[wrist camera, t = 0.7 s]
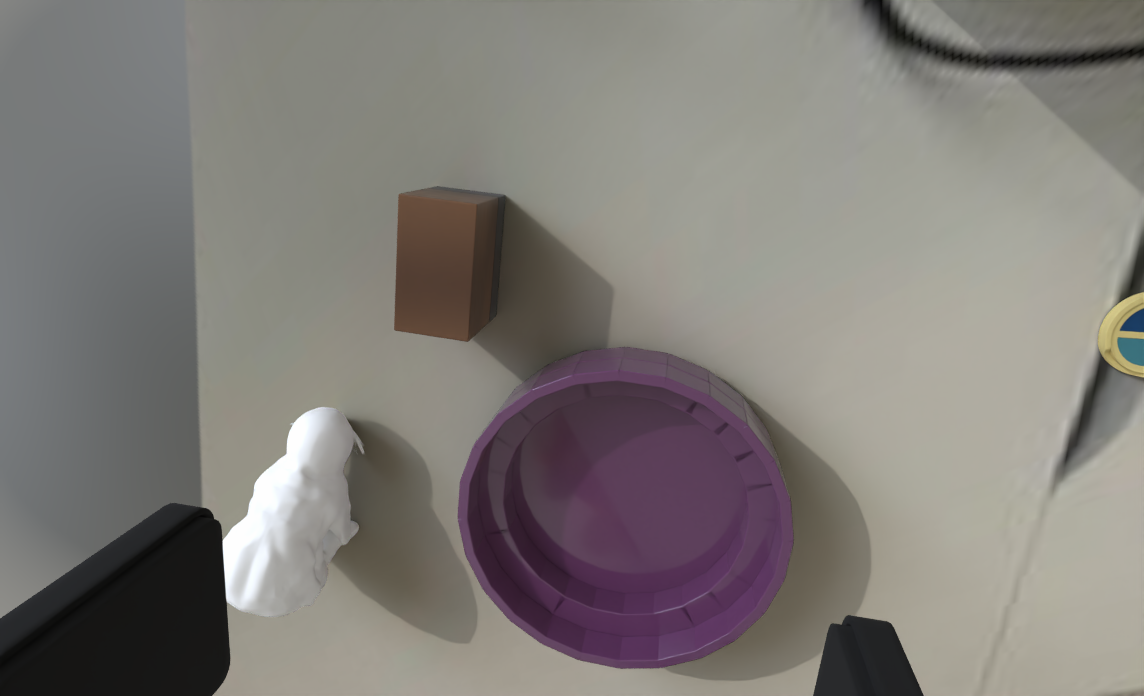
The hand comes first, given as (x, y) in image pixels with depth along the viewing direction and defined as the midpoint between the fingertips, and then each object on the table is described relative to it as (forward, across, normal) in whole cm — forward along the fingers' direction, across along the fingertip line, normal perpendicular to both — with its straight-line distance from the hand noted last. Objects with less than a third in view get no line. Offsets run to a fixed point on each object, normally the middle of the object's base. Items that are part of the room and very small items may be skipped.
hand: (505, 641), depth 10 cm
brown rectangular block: (+30, +10, -1) cm, 31 cm away
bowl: (+30, -1, +13) cm, 33 cm away
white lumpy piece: (+30, +19, +15) cm, 39 cm away
